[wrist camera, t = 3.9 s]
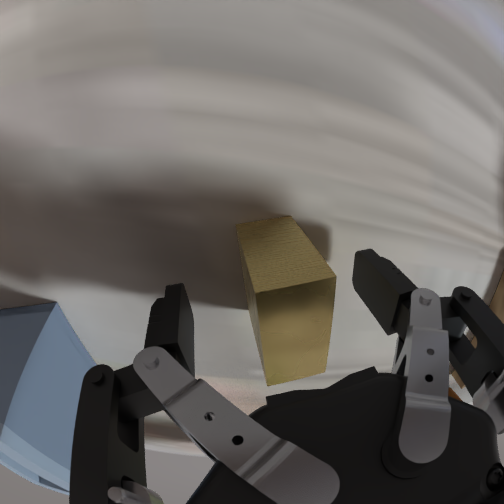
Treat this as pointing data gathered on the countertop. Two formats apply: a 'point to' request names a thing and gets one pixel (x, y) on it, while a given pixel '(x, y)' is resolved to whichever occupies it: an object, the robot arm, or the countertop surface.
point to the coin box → (39, 393)
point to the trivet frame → (500, 305)
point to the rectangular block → (287, 298)
